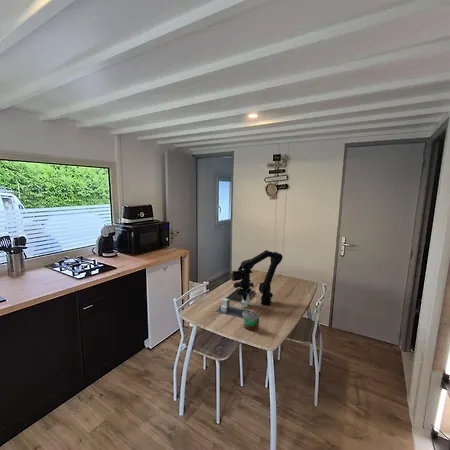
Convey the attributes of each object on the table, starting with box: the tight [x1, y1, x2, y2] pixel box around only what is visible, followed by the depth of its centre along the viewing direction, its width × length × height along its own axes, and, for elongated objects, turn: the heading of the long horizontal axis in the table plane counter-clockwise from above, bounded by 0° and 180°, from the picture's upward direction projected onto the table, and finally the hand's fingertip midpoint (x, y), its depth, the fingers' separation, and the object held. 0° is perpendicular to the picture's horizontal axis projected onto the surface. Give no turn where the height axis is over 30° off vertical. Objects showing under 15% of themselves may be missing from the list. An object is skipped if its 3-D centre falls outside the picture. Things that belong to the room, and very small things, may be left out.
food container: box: [242, 307, 261, 332], centre depth 155 cm, size 12×6×10 cm, turn 45°
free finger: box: [240, 294, 251, 308], centre depth 184 cm, size 5×7×8 cm
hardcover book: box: [225, 287, 256, 304], centre depth 202 cm, size 16×23×2 cm
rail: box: [214, 304, 252, 319], centre depth 176 cm, size 22×12×3 cm, turn 65°
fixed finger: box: [220, 297, 231, 312], centre depth 178 cm, size 5×7×8 cm
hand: (245, 299), depth 183 cm, fingers closed on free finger, 3 cm apart
